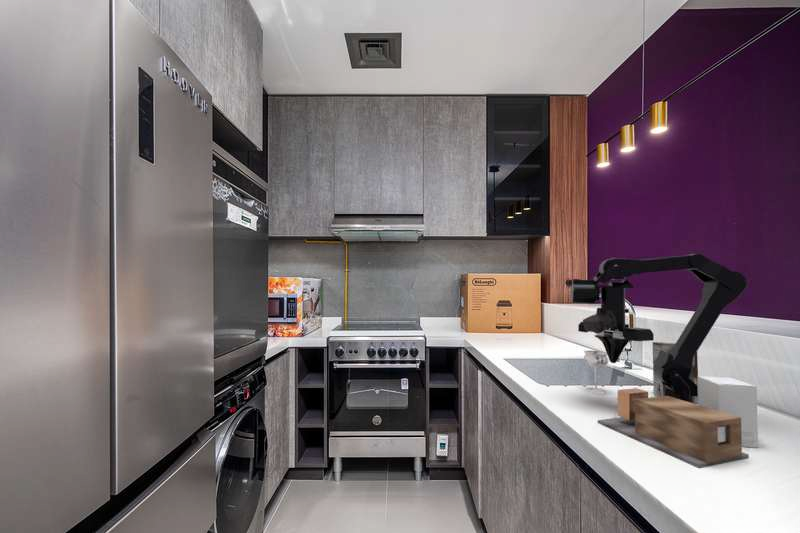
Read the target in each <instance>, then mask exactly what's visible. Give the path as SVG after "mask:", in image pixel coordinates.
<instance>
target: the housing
mask: <svg viewBox="0 0 800 533" xmlns="http://www.w3.org/2000/svg"><path fill="white" fill-rule="evenodd" d="M597 424H599V425H602V426H604V427H606V428H608V429H611V430H612V431H615V432H617V433H619V434H622V435H624V436H627V437H629V438H630V439H633V440H635V441H638V442H640V443H642V444H644V445H645V446H649V447H650V448H652V449H653V448H654V449H656V450H658V451H660V452H663V453H665V454H666V455H669V456H671V457H673V458H676V459H679V460H680V461H683V462H684V463H687V464H690V465H692V466H694V467H696V468H698V469H701V468H704V467H705V468H707V467H710V466H715V465H719V464H724V463H729V462H730V463H731V462H734V461H739V460H745V459H749V456H750V455H749V453H746V452H743V446H742V434H741V417H737V416H734V415H730V414H727V413H724V412H720V411H717V410H714V409H710V408H707V407H704V406H700V405H698V404H696V403H695V404H693V403H690V402H687V401H683V400H680V399H677V398H673V397H670V396H660V397H656V396H653V397H652V396H651V397H648V398H642V399H635V420H628V419H625V418H622V417H620V416H618V417H611V418H604V419H598V420H597ZM719 426H726V441H724V442H719V443H718V427H719Z"/></svg>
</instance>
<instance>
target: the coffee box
mask: <svg viewBox="0 0 800 533" xmlns="http://www.w3.org/2000/svg"><path fill="white" fill-rule="evenodd" d="M675 344H676V342H675V343H674V342H662V341H661V342H660V341H659V342H658V341H657V342H656V341H654V342H652V367H653V366H654V363H653V361H654V360H655V359H656V358H657V356H658V354H659V352H660V350H663V351H665V352H668V351H669V350H670V349H672V348H673V347H674V345H675ZM698 361H699V360H698V351H697V352H696V354H695V355H694V358H693V367H692V372H691V375H690V379H691V380H692V381H693V382H694V383H695V384H696V385H697V386H698V377H697V376H699V368H698V367H699V365H698V364H699V363H698ZM652 375H653V376H652V380H653V384H652V385H653V395H654V397H660V396H665V390H666V388H667V387H665V386H663V384H662V382H661V380H660V379H659V378H657V377H656V375H655V374H654V371H653V370H652ZM695 404H697V405H698V397H696V396H695Z"/></svg>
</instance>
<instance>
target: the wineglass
mask: <svg viewBox="0 0 800 533" xmlns="http://www.w3.org/2000/svg"><path fill="white" fill-rule="evenodd" d="M583 353H584V355H583V361H584V363H585V365H587V366H588V368H591V369H592V370H593V371H594V388H590V389H587V390H586V391H587V392H588V393H591V394H595V395H605V394H606V392H605V391H603V390H600V389H598V372H599V371H600V370H603V369H605V368H606V367H607V366H608V364H609V362H610V360H609V357H608V355H607V352H606V351H600V350H599V351H598V350H584V351H583Z"/></svg>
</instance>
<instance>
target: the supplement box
mask: <svg viewBox="0 0 800 533" xmlns="http://www.w3.org/2000/svg"><path fill="white" fill-rule="evenodd" d="M697 377H698V404H697V405H700V406H704V407H707V408H710V409H714V410H717V411H720V412H724V413H727V414H730V415H734V416H737V417H741V434H742V448H743V447H746V448H752V449H753V448H757V449H758V448H759V429H758V428H759V427H758V424H759V423H758V396H757V395H758V393H757V388H758V387H757V386H756V385H753V384H751V383H748V382H745V381H742V380H740V379H739V380H738V378H737V379H736V378H733V377H725V376H724V377H723V376H722V377H721V376H705V375H704V376H703V375H698V376H697Z"/></svg>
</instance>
